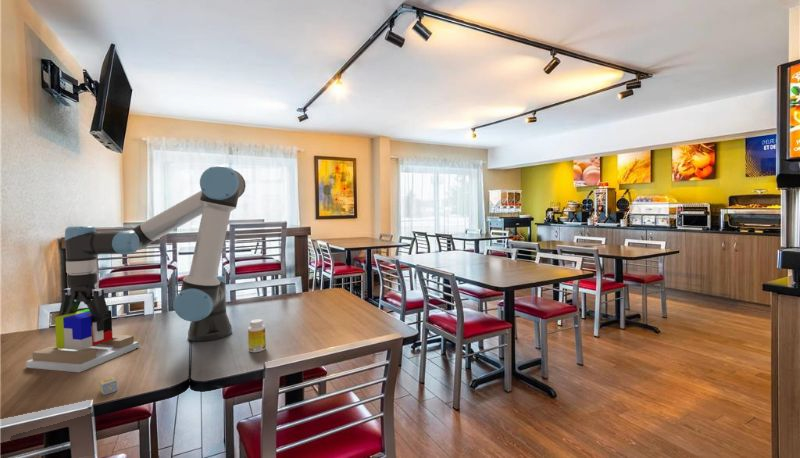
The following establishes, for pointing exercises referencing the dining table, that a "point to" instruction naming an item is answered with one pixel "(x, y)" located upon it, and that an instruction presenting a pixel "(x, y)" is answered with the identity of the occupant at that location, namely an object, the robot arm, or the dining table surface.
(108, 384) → the alphabet block
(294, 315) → the dining table surface
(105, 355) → the foundation plate
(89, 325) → the puzzle toy
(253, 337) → the supplement bottle
